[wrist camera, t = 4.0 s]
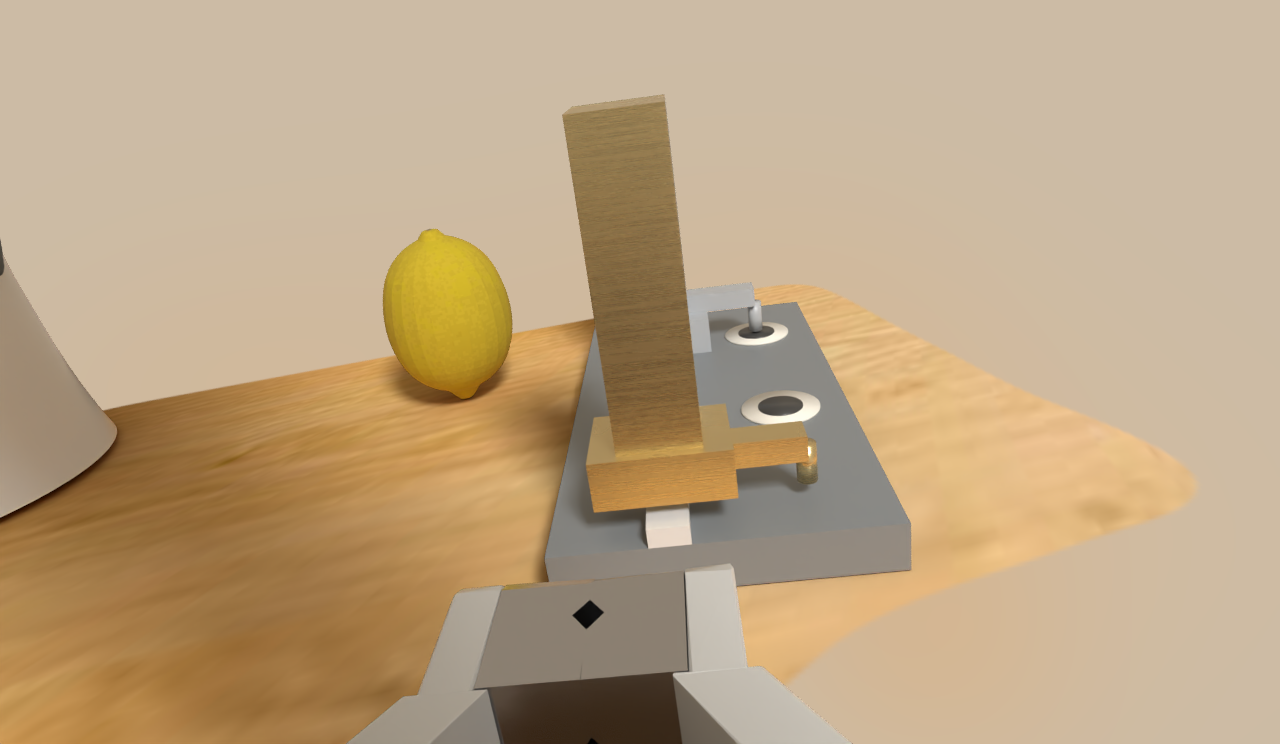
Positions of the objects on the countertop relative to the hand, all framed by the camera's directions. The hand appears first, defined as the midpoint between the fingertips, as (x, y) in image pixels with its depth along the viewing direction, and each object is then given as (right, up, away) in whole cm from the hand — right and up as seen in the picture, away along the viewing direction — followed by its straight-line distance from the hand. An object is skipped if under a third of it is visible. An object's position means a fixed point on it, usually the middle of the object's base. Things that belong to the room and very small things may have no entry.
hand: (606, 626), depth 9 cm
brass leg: (+2, -1, +15) cm, 15 cm away
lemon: (-8, +1, +30) cm, 31 cm away
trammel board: (+3, +1, +23) cm, 24 cm away
